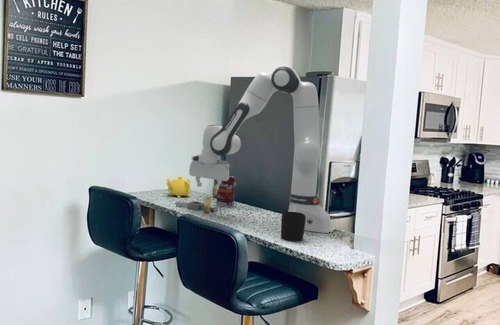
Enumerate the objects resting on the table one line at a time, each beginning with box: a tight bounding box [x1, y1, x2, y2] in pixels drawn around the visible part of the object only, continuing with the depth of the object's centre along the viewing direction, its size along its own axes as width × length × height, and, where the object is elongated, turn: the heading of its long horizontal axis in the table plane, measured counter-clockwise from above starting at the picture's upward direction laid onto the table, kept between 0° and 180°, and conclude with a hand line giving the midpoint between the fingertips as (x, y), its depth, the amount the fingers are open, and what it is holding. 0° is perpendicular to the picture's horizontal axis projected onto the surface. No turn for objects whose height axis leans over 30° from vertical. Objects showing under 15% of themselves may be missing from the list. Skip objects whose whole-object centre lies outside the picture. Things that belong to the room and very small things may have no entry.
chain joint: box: [174, 200, 219, 214], centre depth 243 cm, size 22×6×3 cm, turn 65°
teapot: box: [165, 176, 191, 197], centre depth 278 cm, size 14×14×11 cm
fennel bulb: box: [212, 179, 218, 198], centre depth 284 cm, size 6×5×12 cm
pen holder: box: [280, 211, 306, 242], centre depth 194 cm, size 9×9×10 cm
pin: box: [203, 195, 212, 214], centre depth 234 cm, size 3×3×8 cm
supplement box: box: [215, 175, 237, 208], centre depth 257 cm, size 9×5×16 cm, turn 76°
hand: (207, 187), depth 234 cm, fingers open, 8 cm apart
